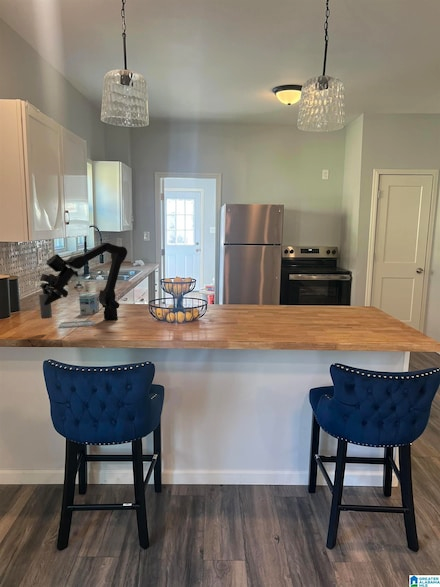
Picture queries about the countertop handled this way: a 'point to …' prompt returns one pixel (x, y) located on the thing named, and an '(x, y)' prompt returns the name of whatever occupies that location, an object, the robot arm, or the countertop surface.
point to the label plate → (76, 324)
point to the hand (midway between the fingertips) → (42, 304)
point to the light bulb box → (89, 303)
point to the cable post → (45, 307)
